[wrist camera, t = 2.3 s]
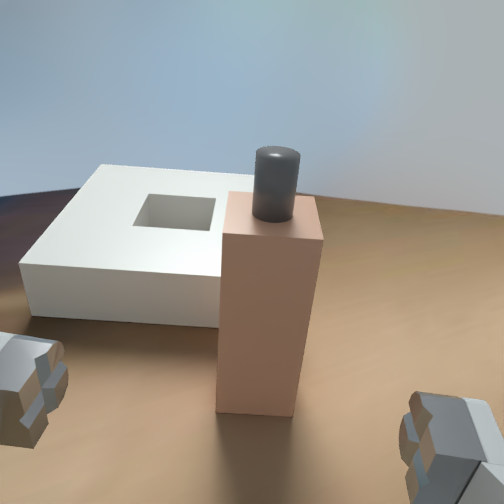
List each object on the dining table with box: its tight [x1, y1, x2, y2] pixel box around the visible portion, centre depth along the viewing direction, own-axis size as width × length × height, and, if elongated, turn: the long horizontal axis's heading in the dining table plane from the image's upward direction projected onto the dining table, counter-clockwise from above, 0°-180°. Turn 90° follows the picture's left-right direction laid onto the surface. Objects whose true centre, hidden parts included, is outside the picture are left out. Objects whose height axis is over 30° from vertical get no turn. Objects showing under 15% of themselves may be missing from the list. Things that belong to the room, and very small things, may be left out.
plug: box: [216, 146, 324, 417], centre depth 24 cm, size 4×4×15 cm
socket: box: [19, 164, 254, 328], centre depth 39 cm, size 18×18×4 cm
